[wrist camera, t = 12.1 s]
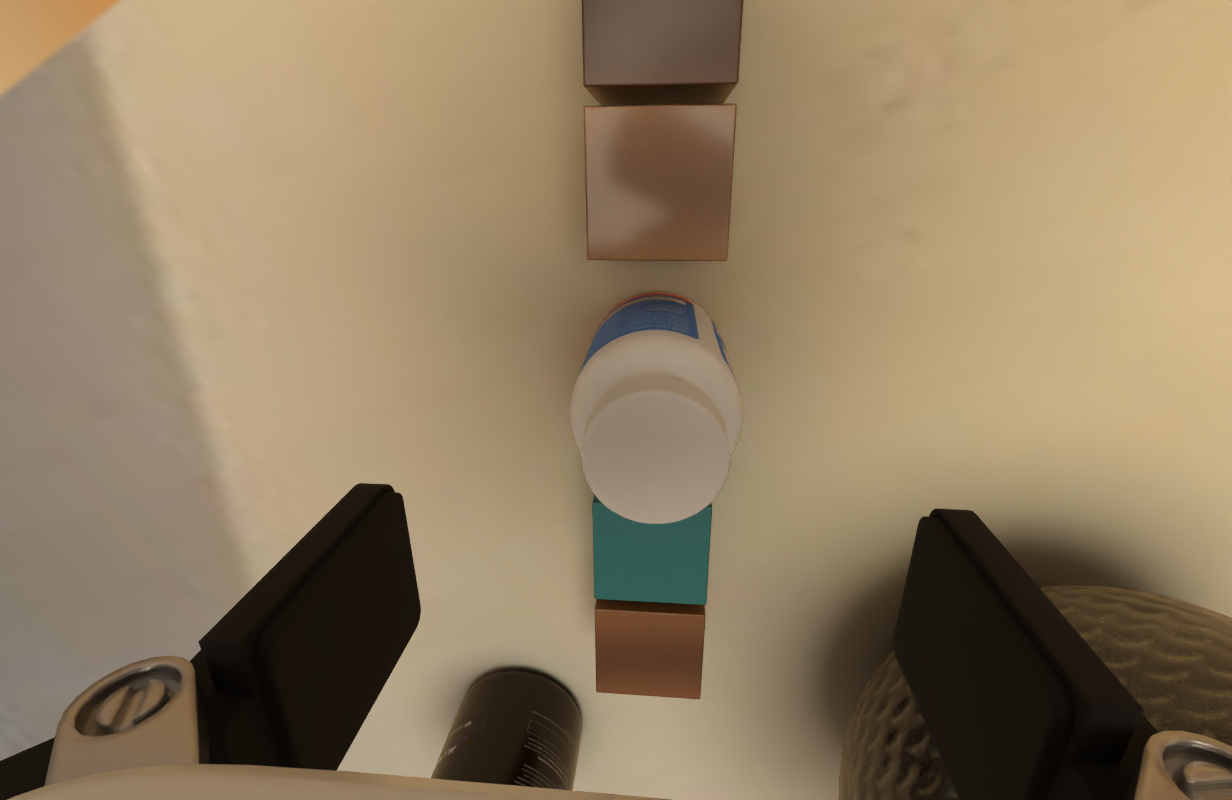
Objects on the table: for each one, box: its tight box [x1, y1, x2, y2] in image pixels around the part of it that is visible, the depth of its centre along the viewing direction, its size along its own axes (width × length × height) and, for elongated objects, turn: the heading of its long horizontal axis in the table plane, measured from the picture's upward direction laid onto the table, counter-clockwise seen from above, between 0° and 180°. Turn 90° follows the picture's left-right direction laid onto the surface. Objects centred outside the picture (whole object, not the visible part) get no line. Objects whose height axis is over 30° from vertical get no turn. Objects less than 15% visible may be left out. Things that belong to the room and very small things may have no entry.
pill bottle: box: [570, 292, 743, 524], centre depth 20 cm, size 6×5×10 cm
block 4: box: [595, 599, 705, 699], centre depth 27 cm, size 4×4×4 cm
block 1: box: [582, 0, 743, 104], centre depth 18 cm, size 4×4×4 cm
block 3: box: [592, 494, 712, 605], centre depth 25 cm, size 4×4×4 cm
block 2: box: [584, 104, 737, 261], centre depth 20 cm, size 4×4×4 cm
